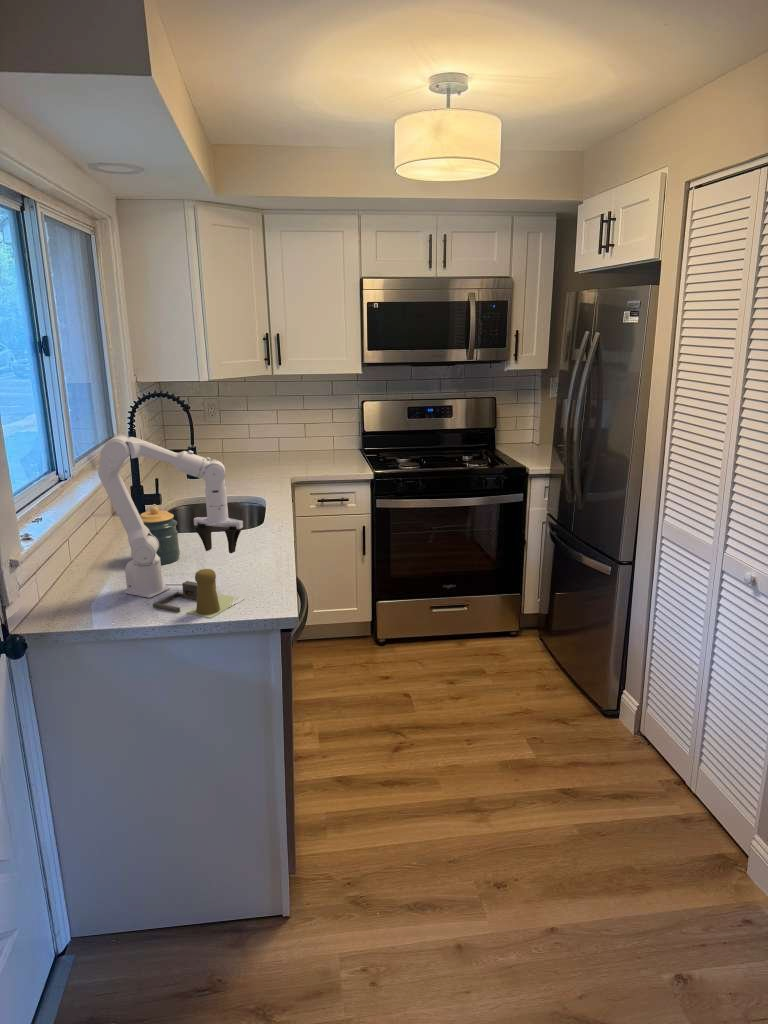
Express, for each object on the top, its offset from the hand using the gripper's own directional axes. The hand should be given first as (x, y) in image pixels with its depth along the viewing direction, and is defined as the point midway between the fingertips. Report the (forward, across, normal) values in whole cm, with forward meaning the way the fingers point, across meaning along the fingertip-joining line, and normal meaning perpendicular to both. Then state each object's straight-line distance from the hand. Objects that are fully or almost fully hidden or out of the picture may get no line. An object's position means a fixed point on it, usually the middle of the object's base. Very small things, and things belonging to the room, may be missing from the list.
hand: (220, 551), depth 191 cm
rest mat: (+10, +6, -14) cm, 19 cm away
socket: (+10, -4, -13) cm, 17 cm away
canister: (+11, -32, +15) cm, 37 cm away
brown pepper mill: (+10, +6, -17) cm, 21 cm away
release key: (+10, -3, -7) cm, 13 cm away
